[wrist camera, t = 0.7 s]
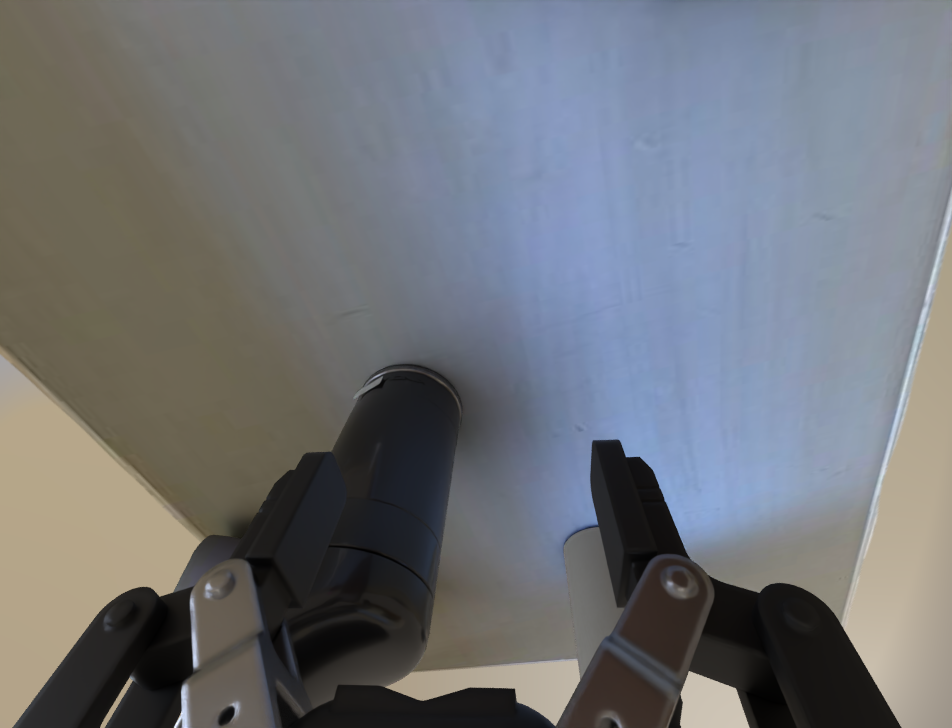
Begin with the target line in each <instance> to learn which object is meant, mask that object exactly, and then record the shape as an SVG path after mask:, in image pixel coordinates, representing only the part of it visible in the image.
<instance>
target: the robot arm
mask: <svg viewBox="0 0 952 728" xmlns="http://www.w3.org/2000/svg"><path fill="white" fill-rule="evenodd" d="M358 396H359V397H358ZM356 397H358V400H357V402H356V404H355V406H354V408H353V410H352V412H351V414H350V416H349V418H348V420H347V422H346V424H345V426H344V428H343V430H342V432H341V434H340V436H339V438H338V440H337V442H336V444H335V445H334V447H333V449H332V451H331V452H312V453H306V454H304V455H303V457H302V458H301V460H300V462H299V464H298V465H297V467H296V469H295V470H289V471H288V472H287V473H286V474H285V475H284V476H282V477H281V478H280V479H279V480H278V481H277V482H276V483H275V484H274V486H273V488H272V489H271V491H270V493H269V494H268V496H267V499H266V501H264V502H263V504H262V506H261V507H260V509H259V513H257V514H256V516H255V517H254V519H253V521H252V522H251V524H250V525H249V527H248V529H247V530H246V532H245V534H244V535H243V537H242V539H241V540H240V542H239V544H238V545H237V547H236V548H235V550H234V552H233V553H232V555H231V557H230V558H229V560H226V561H223V562H221V563H219V564H217V565H215V566H214V567H212V568H211V569H210V570H208V571H207V572H206V573H205V574H204V575H203V576H202V577H201V578H200V579H199V580H198V582H197V583H196V585H195V586H192V587H189V588H186V589H183V590H180V591H177V592H174V593H170V594H167V595H164V596H161V597H159V596H158V595H157V593H156V592H155V591H154V590H153V589H151V588H149V587H139V588H135V589H132V590H129V591H127V592H125V593H123V594H121V595H120V596H118V597H116V598H115V599H114V600H112V601H111V602H110V603H109V604H107V605H106V606H105V607H104V608H103V609H102V610H101V611H100V612H99V614H98V615H97V616H96V617H95V618H94V620H93V621H92V622H91V624H90V625H89V627H88V628H87V629H86V630H85V632H84V633H83V634H82V636H81V637H80V638H79V640H78V641H77V643H76V644H75V645H74V647H73V648H72V649H71V650H70V652H69V653H68V654H67V656H66V657H65V659H64V660H63V661H62V662H61V664H60V665H59V666H58V668H57V669H56V670H55V672H54V673H53V674H52V676H51V677H50V678H49V680H48V681H47V683H46V684H45V685H44V687H43V688H42V689H41V690H40V692H39V693H38V695H37V696H36V697H35V698H34V700H33V701H32V702H31V704H30V705H29V707H28V708H27V709H26V710H25V712H24V713H23V714H22V716H21V717H20V718H19V720H18V721H17V722H16V724H15V725H14V727H13V728H100V726H101V724H102V722H103V720H104V718H105V716H106V715H107V713H108V712H109V710H110V708H111V707H112V705H113V703H114V702H115V700H116V698H117V697H118V695H119V693H120V692H121V690H122V689H123V687H124V685H125V684H126V682H127V680H128V679H129V677H130V678H131V679H132V680H133V682H132V683H131V685H130V687H129V688H128V690H127V692H126V694H125V695H124V697H123V698H122V700H121V702H120V703H119V705H118V707H117V708H116V710H115V712H114V713H113V715H112V717H111V719H110V720H109V722H108V723H107V725H106V727H105V728H668V727H669V724H670V721H671V718H672V716H673V713H674V710H675V707H676V705H677V702H678V699H679V697H680V694H681V691H682V688H683V686H684V683H685V680H686V677H687V675H688V672H689V671H691V672H694V673H696V674H699V675H702V676H704V677H707V678H710V679H713V680H715V681H718V682H720V683H723V684H726V685H729V686H731V687H734V688H736V689H737V692H738V695H739V698H740V701H741V704H742V707H743V710H744V713H745V715H746V718H747V721H748V724H749V727H750V728H901V726H900V725H899V723H898V721H897V719H896V718H895V716H894V714H893V712H892V711H891V709H890V707H889V706H888V704H887V702H886V701H885V699H884V697H883V695H882V694H881V692H880V691H879V689H878V687H877V685H876V684H875V682H874V680H873V679H872V677H871V675H870V673H869V672H868V670H867V668H866V666H865V665H864V663H863V662H862V660H861V658H860V656H859V655H858V653H857V651H856V649H855V648H854V646H853V644H852V643H851V641H850V640H849V637H848V636H847V634H846V632H845V631H844V629H843V627H842V626H841V624H840V622H839V620H838V619H837V617H836V616H835V614H834V613H833V612H832V611H831V609H830V608H829V607H828V606H827V605H826V604H825V603H824V602H823V601H821V600H820V599H819V598H818V597H816V596H815V595H813V594H812V593H810V592H808V591H806V590H804V589H802V588H800V587H797V586H794V585H790V584H785V583H775V584H770V585H768V586H766V587H765V588H764V589H762V591H761V592H760V593H757V592H754V591H750V590H747V589H743V588H740V587H736V586H733V585H730V584H726V583H723V582H720V581H718V580H716V579H714V578H712V577H710V576H709V575H707V574H706V572H705V571H704V570H703V569H702V568H701V567H700V566H699V565H697V564H696V563H695V562H693V561H692V560H691V559H690V558H689V556H688V554H687V552H686V550H685V548H684V546H683V543H682V541H681V538H680V536H679V533H678V531H677V528H676V526H675V523H674V521H673V519H672V516H671V514H670V511H669V509H668V506H667V504H666V502H665V501H664V496H663V494H662V492H661V489H659V484H658V482H657V479H656V477H655V474H654V472H653V470H652V469H651V468H650V467H649V466H648V465H647V464H646V463H645V462H644V461H643V460H642V459H641V458H640V457H626V456H625V454H624V451H623V448H622V445H621V442H620V441H619V440H594V441H593V442H592V455H591V474H590V482H591V492H592V498H593V503H594V507H595V512H596V516H597V521H598V525H599V530H600V534H601V538H602V543H603V547H604V552H605V556H606V561H607V565H608V570H609V574H610V579H611V583H612V588H613V592H614V596H615V601H616V605H617V608H625V609H624V611H623V612H622V614H621V616H620V618H619V620H618V622H617V624H616V626H615V628H614V630H613V631H612V633H611V634H610V635H609V636H606V637H605V638H604V639H603V640H602V642H601V643H600V645H599V647H598V648H597V650H596V652H595V654H594V656H593V658H592V660H591V661H590V663H589V665H588V667H587V669H586V671H585V673H584V674H583V676H582V678H581V680H580V682H579V684H578V686H577V688H576V689H575V692H574V693H573V695H572V697H571V699H570V701H569V703H568V704H567V706H566V708H565V710H564V712H563V714H562V716H561V718H560V720H559V721H558V723H557V725H556V726H554V725H553V724H552V723H551V722H550V721H549V720H548V719H547V718H545V717H544V716H543V715H541V714H540V713H538V712H537V711H535V710H533V709H531V708H530V707H528V706H526V705H523V704H520V703H517V701H516V694H515V689H508V688H507V689H506V688H467V689H464V690H460V691H457V692H453V693H450V694H446V695H443V696H440V697H437V698H433V699H429V700H425V701H420V700H416V699H414V698H411V697H409V696H406V695H403V694H401V693H398V692H396V691H393V690H390V689H387V688H385V687H386V686H388V685H391V684H393V683H395V682H397V681H399V680H401V679H402V678H404V677H405V676H407V675H408V674H409V673H411V672H412V671H413V670H414V669H415V668H416V667H417V665H418V664H419V662H420V661H421V659H422V657H423V655H424V652H425V650H426V647H427V643H428V638H429V634H430V627H431V619H432V612H433V605H434V598H435V591H436V584H437V577H438V570H439V563H440V555H441V548H442V541H443V534H444V527H445V520H446V513H447V506H448V499H449V492H450V485H451V479H452V472H453V465H454V458H455V451H456V445H457V438H458V431H459V427H460V424H461V418H462V405H461V401H460V398H459V396H458V394H457V392H456V391H455V389H454V388H453V387H452V385H451V384H450V383H449V382H448V381H447V380H445V379H444V378H443V377H441V376H440V375H438V374H437V373H435V372H433V371H431V370H428V369H426V368H422V367H418V366H412V365H396V366H391V367H387V368H384V369H382V370H380V371H378V372H376V373H375V374H373V375H372V376H371V377H370V378H369V379H368V380H367V381H366V383H365V384H364V386H363V388H362V389H360V390H359V391H357V393H356V395H355V396H354V398H353V399H355V398H356ZM181 711H182V714H181V716H180V718H179V720H178V717H179V715H180V713H181ZM177 720H178V721H177ZM176 722H177V723H176ZM175 724H176V725H175Z"/></svg>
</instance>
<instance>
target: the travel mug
mask: <svg viewBox="0 0 952 728" xmlns="http://www.w3.org/2000/svg"><path fill="white" fill-rule="evenodd" d="M563 551H564V559H565V567H566V574H567V582H568V589H569V597H570V605H571V612H572V620H573V627H574V635H575V643H576V650H577V658H578V665H579V673H580V680H581V678H582V676H583V674H584V673H585V671H586V669H587V667H588V665H589V663H590V661H591V660H592V658H593V656H594V654H595V652H596V650H597V648H598V647H599V645H600V643H601V642H602V640H603V639H604V638H605V637H606V636H609V635H610V634H611V633H612V631H613V630H614V628H615V626H616V624H617V622H618V620H619V618H620V616H621V614H622V612H623V611H624V609H625V608H617V605H616V601H615V596H614V592H613V588H612V583H611V579H610V574H609V570H608V565H607V561H606V556H605V552H604V547H603V543H602V538H601V534H600V530H599V527H594V528H589V529H585V530H582V531H580V532H577V533H576V534H574V535H572V536H571V537H570V538H569V539H568V540H567V541H566V543H565V545H564V549H563ZM682 704H683V702H682V699H681V695H680V697H679V699H678V702H677V705H676V707H675V710H674V713H673V716H672V718H671V721H670V724H669V727H668V728H681V726H680V719H681V710H682Z"/></svg>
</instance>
